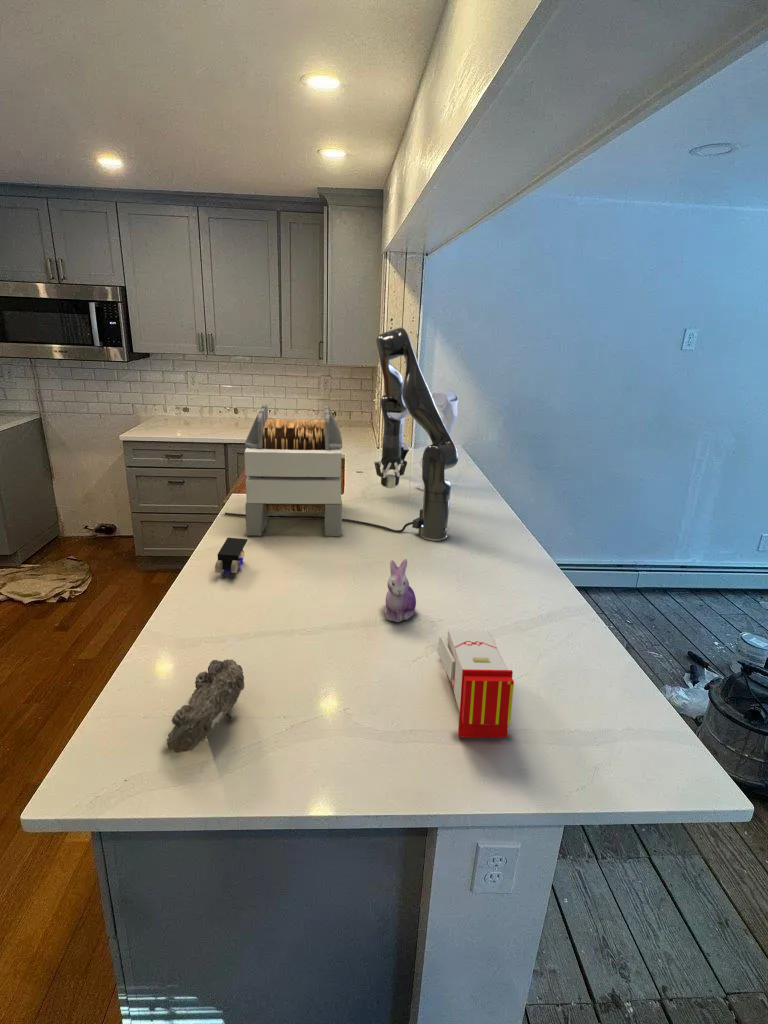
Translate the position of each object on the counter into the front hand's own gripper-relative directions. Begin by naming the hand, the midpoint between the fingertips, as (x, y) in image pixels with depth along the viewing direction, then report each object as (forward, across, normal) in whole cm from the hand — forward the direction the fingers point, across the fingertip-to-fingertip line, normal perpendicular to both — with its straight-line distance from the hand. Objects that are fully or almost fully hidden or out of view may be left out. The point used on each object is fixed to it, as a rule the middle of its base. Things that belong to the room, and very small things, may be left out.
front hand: (389, 485), depth 233 cm
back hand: (-2, -14, -25) cm, 29 cm away
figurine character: (+6, +70, +48) cm, 85 cm away
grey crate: (+6, +42, +12) cm, 44 cm away
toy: (+6, +32, +121) cm, 125 cm away
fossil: (+6, +83, +111) cm, 139 cm away
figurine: (+6, +33, +87) cm, 93 cm away
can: (+1, 0, 0) cm, 1 cm away
